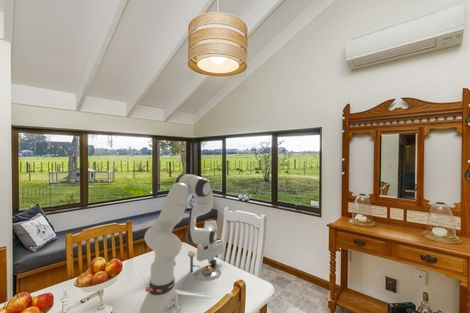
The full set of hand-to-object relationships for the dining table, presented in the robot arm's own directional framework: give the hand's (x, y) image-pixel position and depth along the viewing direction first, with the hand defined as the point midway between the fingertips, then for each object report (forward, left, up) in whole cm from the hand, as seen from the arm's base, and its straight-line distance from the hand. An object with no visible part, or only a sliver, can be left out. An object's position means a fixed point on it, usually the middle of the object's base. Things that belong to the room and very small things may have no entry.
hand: (210, 263), depth 156 cm
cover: (-10, -1, -1) cm, 10 cm away
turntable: (-9, -2, -2) cm, 9 cm away
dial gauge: (-11, +7, -3) cm, 13 cm away
